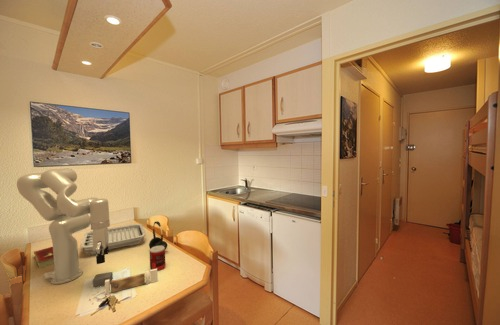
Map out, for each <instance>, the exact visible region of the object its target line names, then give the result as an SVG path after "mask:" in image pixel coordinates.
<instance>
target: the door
mask: <svg viewBox="0 0 500 325" xmlns="http://www.w3.org/2000/svg"><path fill="white" fill-rule="evenodd" d="M110 283H111V284H110V293H114V292H119V291H123V290H127V289H131V288H133V287H138V286H143V285H146V279H145V272H144V273H140V274H139V273H138V274H136V275H135V274H134V275H130V276H126V277H123V278H118V279H113V280H112V281H111V282H110Z"/></svg>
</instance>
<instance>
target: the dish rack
mask: <svg viewBox="0 0 500 325" xmlns="http://www.w3.org/2000/svg"><path fill="white" fill-rule="evenodd" d="M107 228H108V250H113V249H116V248H122V247H126V246H130V247H132V246H137V245H138V244H139V243H141V242H143V241H144V236H145V235H146V232H145V229H144V226H143V224H142V223H133V224H132V223H131V224H127V225H120V226H115V227H107ZM82 236H83V237H82V239H81V242H80V246H79V247H80V248H81V249H83V252H84V253H85V254H90V255H91V256H92V255H96V250H95V251H93V230H92V231H91V230H90V231H88V232H85V233H84V234H83V235H82ZM100 251H101V250H100Z"/></svg>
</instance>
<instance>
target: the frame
mask: <svg viewBox="0 0 500 325" xmlns="http://www.w3.org/2000/svg"><path fill="white" fill-rule="evenodd" d="M144 273H145V285H149V284H152V283H157V282H158V279H159V278H158V271H157V269H152V270H151V269H150V270H149V269H147V270H145V271H144ZM104 290H105V291H104V292H105V296H107V295H110V294H111V284H110V279H108V280H105V286H104ZM109 293H110V294H109ZM106 294H107V295H106Z"/></svg>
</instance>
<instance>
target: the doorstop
mask: <svg viewBox="0 0 500 325" xmlns="http://www.w3.org/2000/svg"><path fill="white" fill-rule="evenodd" d="M113 277H114V276H113V271H110V272H109V271H108V272H104V273H98V274H95V276H94V277H93V278H92V288H93V289H96V288H100V286H101V287H105V280H108V279H110V282H111V281H113V280H114V278H113ZM112 279H113V280H112ZM110 285H111V283H110Z"/></svg>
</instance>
